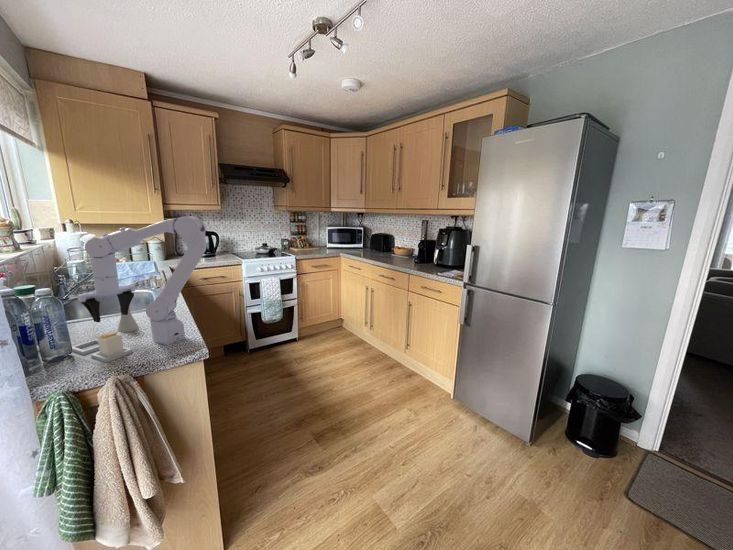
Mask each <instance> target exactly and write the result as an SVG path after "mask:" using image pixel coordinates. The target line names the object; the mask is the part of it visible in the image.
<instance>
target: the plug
mask: <svg viewBox="0 0 733 550" xmlns="http://www.w3.org/2000/svg"><path fill="white" fill-rule="evenodd" d="M122 337H123V336H122V334H119V333H118V332H115V331H112V332H108V333H106V334H102V335H100V336H97V337H96V339H98V344H99V350H100V355H101V356H104V357H110V356H112V355H115V354H118V353H121V352H123V351H124V349H123V346H124V345H123V338H122Z"/></svg>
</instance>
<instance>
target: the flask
mask: <svg viewBox="0 0 733 550" xmlns="http://www.w3.org/2000/svg"><path fill="white" fill-rule="evenodd" d="M118 308H119V310H120V311H121V309H120V306H119V307H118ZM136 330H139V324H138V323H137V322H136V319H135V318H134V317H133V315H132V312H131V304H130V305H129V309H128V315H123V314H121V313H120V319H119V323H118V328H117V330H116V331H117V332H116V333H127V332H129V333H130V332H132V331H136Z"/></svg>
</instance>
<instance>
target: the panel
mask: <svg viewBox="0 0 733 550" xmlns="http://www.w3.org/2000/svg"><path fill="white" fill-rule="evenodd" d="M71 347H72V353H71V354H68V355H69V356H73V357H75V358H79V359H81V360H84V361H87V362H90V363H93V364H96V365H99V366H100V365H104V364H105V363H109V362H111V361H114V360H117V359H119V358H122V357H124V356H126V355H130V354H133V353H135V352H138V351H139V350H138V349H135V348H132V347H128V346H124V345H123V349H124V351H123V352H121V353H118V354H115V355H112V356H110V357H104V356H101V355H100V350H99V344H98V339H97V338H95V339H93V340H89V341H85V342H81V343H79V344H76V345H73V346H71Z"/></svg>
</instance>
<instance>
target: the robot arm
mask: <svg viewBox="0 0 733 550" xmlns="http://www.w3.org/2000/svg"><path fill="white" fill-rule="evenodd" d="M206 230H207V229H206V227H205V225H204V222H203V221H202V219H200V218H199V217H197V216H195V215H188V216H184V215H183V216H180V217H175V218H174V217H173V218H169V219H165V220H161V221H159V222H156V223H153V224H150V225H148V226H144V227H142V228H139V229H134V228H132V227H127V228H126V227H125V226H124V227H120V228H119V230H117V231H114V232H111V233H108V232H107V233H103V234H102V236H100V237H92V238H91V239H89V240H87V241H86V242H85V245H84V250H85V252H86V253H87V254H88V255H89V256H90V262H91V269H92V276H93V284H94V289H95V290H91V291H88V292H84V293H79V294H77V295H76V296H77V301H78V302H80V303H81V304H82V305H83V306H84V307H85V309H86V310H87V311H88V312H89V314H90V316H91V317H92V319H93V320H92V321H93V322H95V323H101V315H100V306H101V305H100V304H101V301H98V300H97V299H101V298H105V297H111V296H115V295H116V296H117V299H118V302H119V303H118V304H119V307H120V309H121V310H120V309H119V310H120V315H121V314H123V315H128V309H129V305H130V306H131V302H132V300H133V298H134V296H135V293H134V292H136V288H135V287H136V286H135V285H132V284H129V285H121V286H120V285H119V277H118V267H117V259H116V253H119V252H122V251H126V250H129V249H131V248H135V247H137V246H140V245H141V243H142V241H143V240H145V239H147V238H148V239H149V238H152V237H153V236H154V237H155V236H158V235H162V234H165V233H170V234H177V235H179V237H180V238H181V239H183V241H184V244H185V245H186V247H187V249H186V250H185V252H184V254H183V256H182V257H181V259H180V260H179V262H178V264H177V265H176V267H175V269H174V270H173V272H172V273H171V275H170V277H169V279H168V280H167V282H166V283H165V285H164V287H163V288H162V290H161V292H159V294H158V295H157V296H156V297H155V299H154V300H153V301H152V302H150V303H149V304H147V306H146V308H145V314H146V316H147V317H148V318H149V320H150V329H151V330H150V331H151V337H152V342H153V343H156V344H164V345H171V344H173V343H177V342H180V341H181V340H183V339H186V333H185V325H184V322H183V321H182V320H180V319H179V318H178V317H177V314H176V312H175V309H176V307H177V304H178V302H177V301H178V298H179V297H180V293H181V292H182V290H183V288H184V287H185V285H186V283H187V282H188V280H189V278H190V276H191V275H192V274H193V272H194V270H195V268H196V267H197V265H198V264H199V262H200V260H201V258H202V257H203V256H204V254H205V252H206V250H207V238H206Z"/></svg>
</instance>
